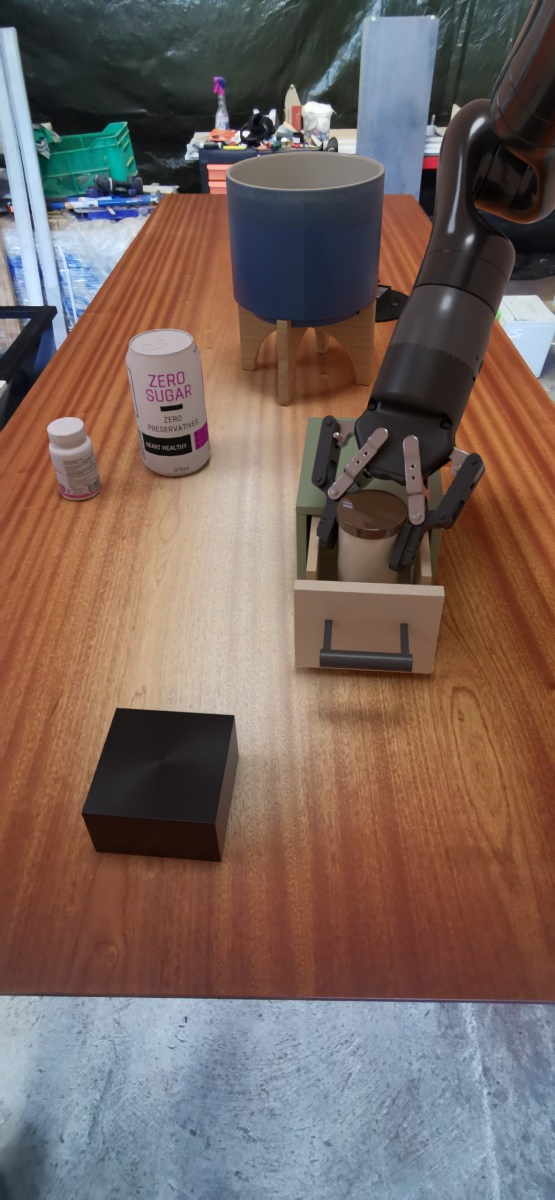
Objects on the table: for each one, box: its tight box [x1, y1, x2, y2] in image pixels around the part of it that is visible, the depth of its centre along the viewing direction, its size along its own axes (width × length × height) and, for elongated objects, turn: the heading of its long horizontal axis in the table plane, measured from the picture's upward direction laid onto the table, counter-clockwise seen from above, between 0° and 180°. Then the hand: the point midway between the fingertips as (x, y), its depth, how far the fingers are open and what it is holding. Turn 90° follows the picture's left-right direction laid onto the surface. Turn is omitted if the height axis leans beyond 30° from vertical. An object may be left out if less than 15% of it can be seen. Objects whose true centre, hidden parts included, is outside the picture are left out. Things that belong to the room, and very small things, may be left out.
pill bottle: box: [46, 416, 102, 501], centre depth 83 cm, size 5×5×8 cm
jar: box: [336, 489, 408, 584], centre depth 61 cm, size 6×6×9 cm
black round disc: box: [375, 278, 410, 323], centre depth 124 cm, size 15×15×6 cm
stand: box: [80, 707, 240, 862], centre depth 53 cm, size 9×9×5 cm
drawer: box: [293, 515, 445, 675], centre depth 63 cm, size 19×12×9 cm, turn 174°
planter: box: [225, 150, 386, 407], centre depth 98 cm, size 19×19×26 cm
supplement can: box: [124, 328, 211, 477], centre depth 85 cm, size 8×8×15 cm
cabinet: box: [295, 416, 445, 586], centre depth 73 cm, size 16×13×11 cm
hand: (360, 558), depth 60 cm, fingers closed on jar, 5 cm apart
